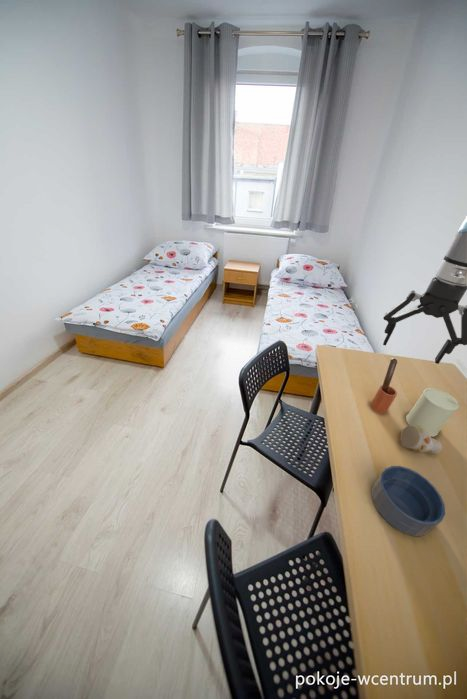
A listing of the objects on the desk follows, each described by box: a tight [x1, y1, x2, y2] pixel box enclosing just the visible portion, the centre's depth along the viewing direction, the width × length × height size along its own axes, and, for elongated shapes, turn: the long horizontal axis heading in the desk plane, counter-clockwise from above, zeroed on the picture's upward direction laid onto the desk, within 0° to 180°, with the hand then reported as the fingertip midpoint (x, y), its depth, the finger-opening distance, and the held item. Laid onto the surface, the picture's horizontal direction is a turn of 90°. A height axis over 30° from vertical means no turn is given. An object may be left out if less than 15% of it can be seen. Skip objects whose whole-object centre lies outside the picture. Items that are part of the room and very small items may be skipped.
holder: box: [370, 384, 398, 415], centre depth 89 cm, size 5×5×8 cm
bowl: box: [371, 465, 446, 537], centre depth 63 cm, size 13×13×6 cm
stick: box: [381, 357, 398, 393], centre depth 87 cm, size 2×2×19 cm
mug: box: [400, 425, 442, 455], centre depth 78 cm, size 8×10×10 cm
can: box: [405, 387, 460, 437], centre depth 84 cm, size 9×9×12 cm
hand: (409, 352), depth 79 cm, fingers open, 13 cm apart
